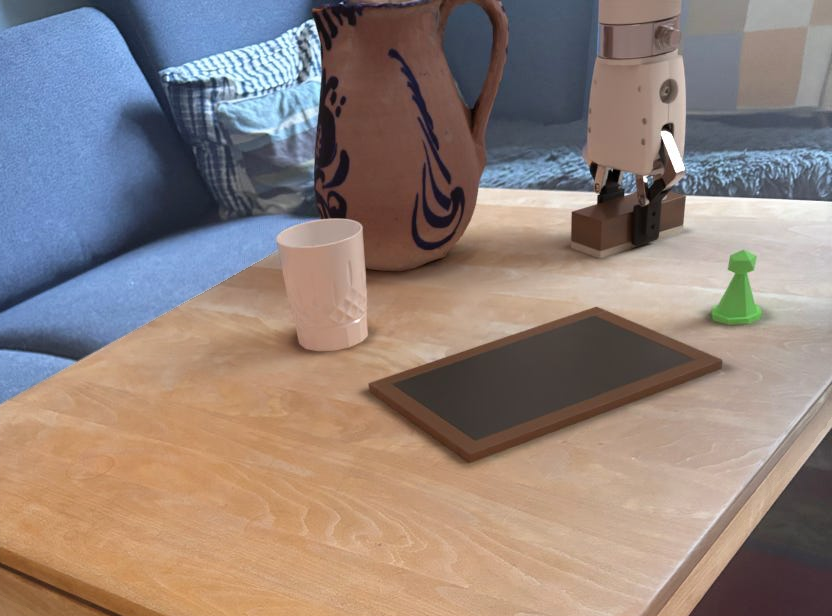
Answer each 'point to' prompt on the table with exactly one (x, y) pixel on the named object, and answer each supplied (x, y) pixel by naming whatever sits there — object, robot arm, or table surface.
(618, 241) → the eraser
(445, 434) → the slate board
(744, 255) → the game piece
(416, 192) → the ceramic pitcher
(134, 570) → the table surface
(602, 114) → the robot arm
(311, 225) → the white cup
